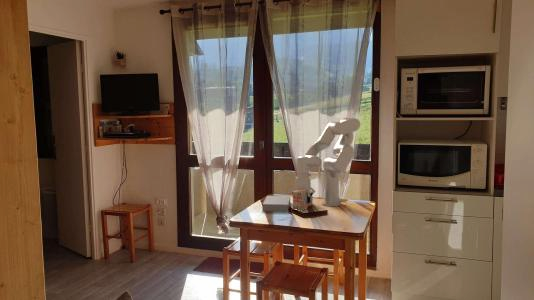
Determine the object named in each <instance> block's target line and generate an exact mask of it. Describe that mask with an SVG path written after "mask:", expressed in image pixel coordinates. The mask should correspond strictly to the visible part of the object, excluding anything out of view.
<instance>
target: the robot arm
mask: <svg viewBox="0 0 534 300" xmlns="http://www.w3.org/2000/svg"><path fill="white" fill-rule="evenodd" d="M360 127H361V121H360V120H359V119H358V118H354V117H344V118H341V120H340V121H330V122H329V123H328V124H327V125H326V127H325V128H324V130H323V132H322V134H321V135H320V136H319V138H318V139H317V141H315V142H314V143H313V144H312V145H311V146H310V147H309V148H308V149H307V151H306V153H305V154H304V155H301V156H298V157H297V158H296V176H295V181H294V182H295V183H294V187H292V188H291V189H290V190H289V191H290V192H291V194H292V195H293V191H295V190H306V193H307V194H308V203H309V202H310V197H311V196H312V195H313V196H314V194H315V192H316V190H315V189H314V188H313V187H312V186H311V176H312V173H309V172H310V170H309V169H310V168H314V169H315V168H318V167H321V165H322V163H323V165H322V166H323V173H324V174H323V175H324V182H323V183H324V190H323V193H324V194H323V196H324V198H323V199H324V200H323V201H322V202H321V205H323V206H326V207H338V206H341V205H342V203H346V199H345V198H340V196H339V195H340V192H339V191H340V184H339V183H340V177H339V174H342V173H344V172H345V171H346V169H347V167H348V166H349V164H350V163H351V161H352V159H353V157H354V155H355V149H354V147H353V146H352V143H353V140H354V133H355V132H356V131H358V130H359V129H360ZM336 136H339V138H338V141H337V142H336V144H335V145H334V147H333V149H332V154H333V156H334V157H333V156H330V157H329V156H328V157H326V158H325V159H324V160H323V162H322V159H321V157H319V156H318V154H320V153H321V152H322V151H323V150H326V149H328V148H330V147H331V145H332V143H333V142H334V140H335V139H336ZM310 191H312V193H311V194H310Z"/></svg>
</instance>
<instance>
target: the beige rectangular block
mask: <svg viewBox="0 0 534 300" xmlns="http://www.w3.org/2000/svg"><path fill="white" fill-rule="evenodd" d="M312 192H313V191H312V190H311V191H310V194H311V193H312ZM313 196H314V194H313V195H312V196H311V197H310V202H309V203H308V194H307V193H306V190H295V189H294V190H293V194H292V210H293V209H297V210H303V209H305V208H306V209H307V208H309V207H310V206H312V205H313ZM308 206H309V207H308ZM306 209H305V210H306ZM303 211H304V210H303Z"/></svg>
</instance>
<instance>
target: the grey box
mask: <svg viewBox="0 0 534 300" xmlns="http://www.w3.org/2000/svg"><path fill="white" fill-rule="evenodd" d="M290 206H291V195H266V197H265V199H264V201H263V203H262V212H278V213H279V212H281V213H282V212H283V213H284V212H286V213H288V212H289V210H288V209H290Z"/></svg>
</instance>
